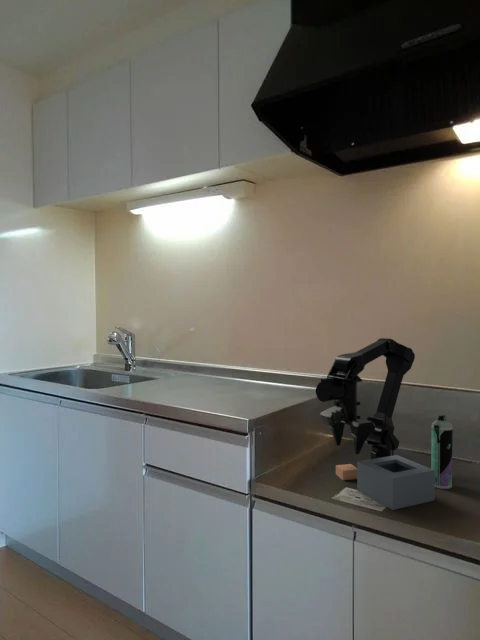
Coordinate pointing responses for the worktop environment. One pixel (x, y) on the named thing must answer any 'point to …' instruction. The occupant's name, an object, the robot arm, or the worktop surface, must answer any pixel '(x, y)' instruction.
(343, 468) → the salmon square block
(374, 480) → the box
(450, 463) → the spray can
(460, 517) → the worktop surface
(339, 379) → the robot arm
